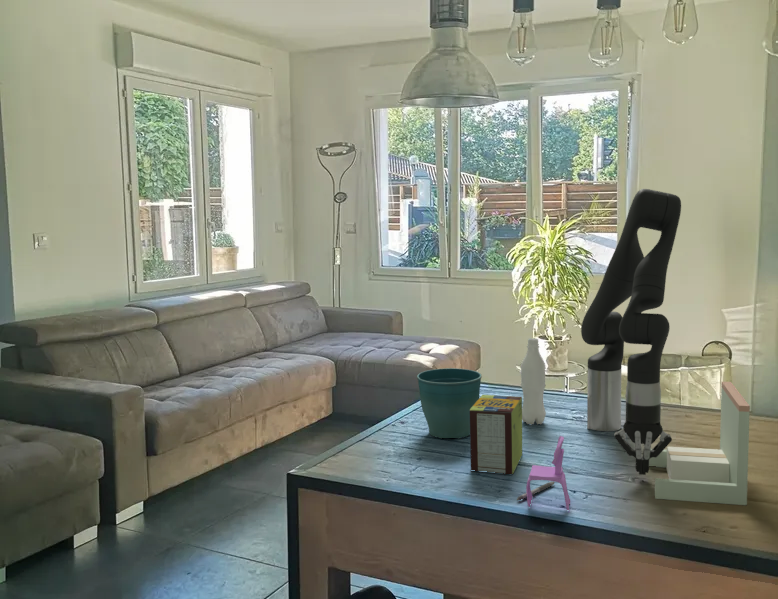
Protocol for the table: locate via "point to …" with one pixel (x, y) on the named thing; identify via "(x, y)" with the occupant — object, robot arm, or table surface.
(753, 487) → the table surface
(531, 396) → the water bottle
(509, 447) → the protein box
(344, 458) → the table surface
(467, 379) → the flower pot
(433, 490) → the table surface
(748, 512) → the table surface
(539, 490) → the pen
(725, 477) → the carton
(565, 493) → the toy chair
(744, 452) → the display stand
